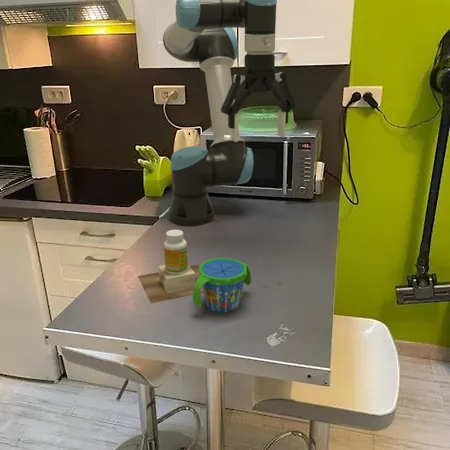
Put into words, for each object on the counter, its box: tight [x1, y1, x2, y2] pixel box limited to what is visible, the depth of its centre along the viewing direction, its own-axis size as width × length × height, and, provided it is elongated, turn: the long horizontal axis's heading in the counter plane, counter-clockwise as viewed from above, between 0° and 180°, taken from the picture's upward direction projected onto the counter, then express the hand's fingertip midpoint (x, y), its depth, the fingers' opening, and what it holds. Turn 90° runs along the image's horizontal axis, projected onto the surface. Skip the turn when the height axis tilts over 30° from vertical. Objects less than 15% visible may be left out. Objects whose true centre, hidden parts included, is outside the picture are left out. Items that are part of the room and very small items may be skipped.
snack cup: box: [192, 257, 252, 313], centre depth 108 cm, size 16×10×10 cm
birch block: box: [158, 263, 195, 294], centre depth 117 cm, size 7×7×4 cm
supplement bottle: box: [163, 229, 189, 274], centre depth 114 cm, size 5×5×10 cm
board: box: [137, 264, 204, 304], centre depth 119 cm, size 14×16×1 cm
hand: (258, 138), depth 128 cm, fingers open, 13 cm apart
